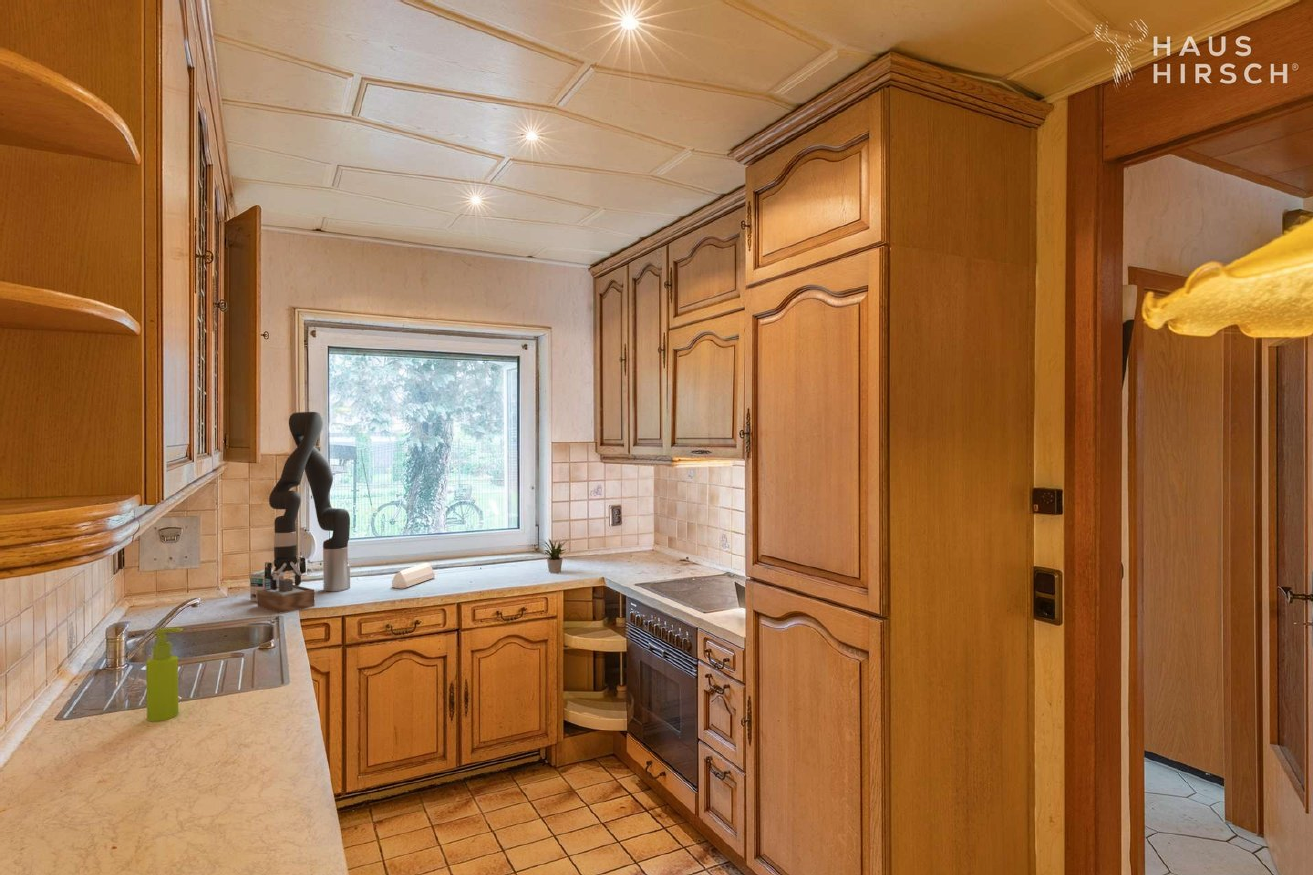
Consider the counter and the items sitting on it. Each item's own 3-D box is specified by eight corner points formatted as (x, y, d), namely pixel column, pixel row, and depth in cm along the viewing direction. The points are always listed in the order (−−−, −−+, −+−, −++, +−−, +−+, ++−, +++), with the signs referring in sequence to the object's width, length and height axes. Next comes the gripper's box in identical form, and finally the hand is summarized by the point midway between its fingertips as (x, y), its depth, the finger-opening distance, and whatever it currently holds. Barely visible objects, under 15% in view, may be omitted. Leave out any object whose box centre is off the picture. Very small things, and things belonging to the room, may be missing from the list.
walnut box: (291, 599, 272) (291, 584, 272) (314, 605, 262) (314, 589, 262) (257, 606, 262) (257, 590, 262) (280, 612, 252) (280, 596, 252)
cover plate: (288, 588, 269) (288, 576, 269) (304, 592, 262) (304, 579, 262) (266, 592, 262) (266, 579, 262) (283, 596, 255) (283, 583, 255)
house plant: (530, 574, 318) (530, 538, 317) (544, 568, 331) (544, 533, 331) (559, 576, 313) (559, 539, 313) (572, 570, 327) (572, 535, 326)
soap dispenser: (178, 719, 159) (177, 630, 159) (142, 723, 157) (141, 633, 157) (187, 709, 164) (186, 624, 164) (153, 712, 163) (151, 626, 162)
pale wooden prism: (419, 568, 315) (384, 579, 291) (431, 560, 313) (397, 571, 290) (426, 582, 314) (392, 595, 291) (438, 575, 312) (405, 587, 289)
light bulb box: (264, 602, 268) (264, 574, 268) (249, 601, 270) (249, 573, 269) (284, 595, 279) (284, 568, 279) (270, 595, 280) (269, 568, 280)
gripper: (299, 540, 270) (299, 582, 270) (260, 545, 258) (261, 589, 258) (309, 542, 265) (309, 585, 266) (270, 547, 254) (271, 592, 254)
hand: (285, 587), depth 262 cm, fingers open, 8 cm apart
